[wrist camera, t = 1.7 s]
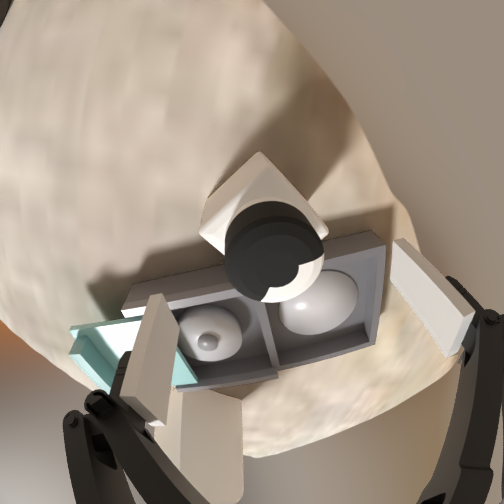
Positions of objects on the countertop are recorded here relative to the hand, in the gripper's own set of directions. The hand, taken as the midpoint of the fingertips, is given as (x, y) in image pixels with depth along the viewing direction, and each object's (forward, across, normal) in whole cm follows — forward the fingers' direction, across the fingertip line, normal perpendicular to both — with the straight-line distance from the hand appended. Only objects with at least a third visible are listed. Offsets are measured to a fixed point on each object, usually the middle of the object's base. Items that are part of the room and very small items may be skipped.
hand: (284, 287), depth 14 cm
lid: (+10, -19, -14) cm, 25 cm away
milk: (+14, -18, -34) cm, 41 cm away
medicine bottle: (+14, 0, 0) cm, 14 cm away
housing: (+14, -2, -14) cm, 19 cm away
